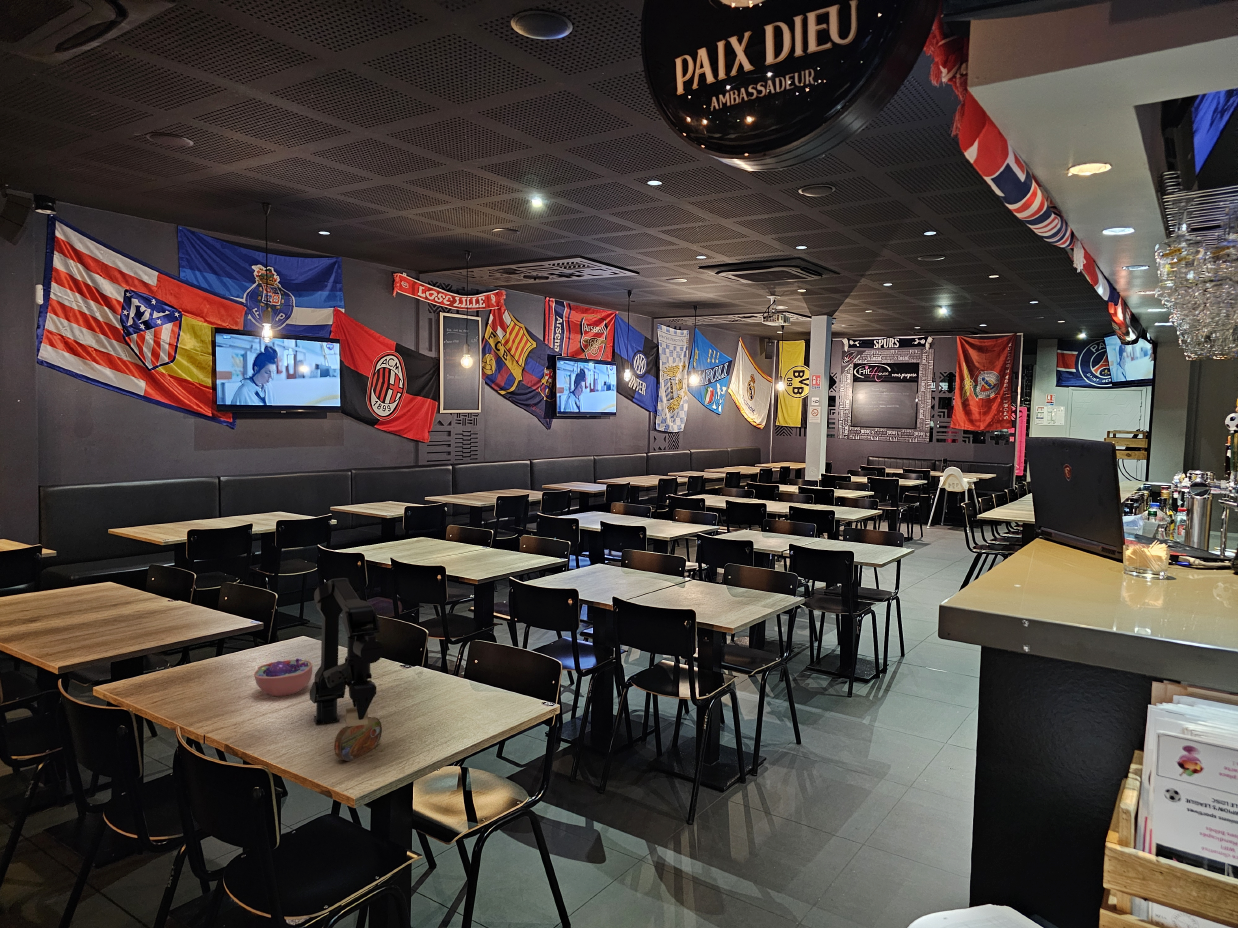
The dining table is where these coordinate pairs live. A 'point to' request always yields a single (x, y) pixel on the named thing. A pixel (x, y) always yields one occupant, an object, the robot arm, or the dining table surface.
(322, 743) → the dining table surface
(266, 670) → the cell model
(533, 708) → the dining table surface
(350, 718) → the oak block
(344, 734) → the tin
